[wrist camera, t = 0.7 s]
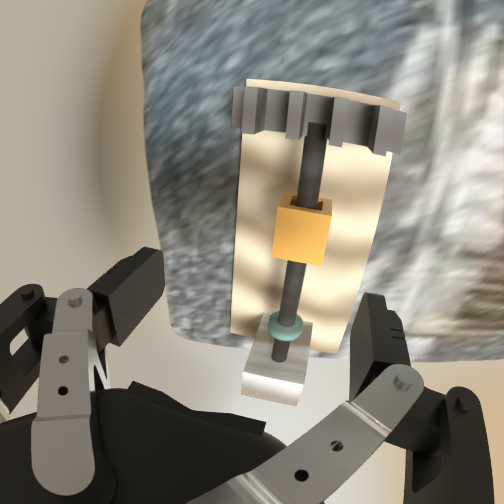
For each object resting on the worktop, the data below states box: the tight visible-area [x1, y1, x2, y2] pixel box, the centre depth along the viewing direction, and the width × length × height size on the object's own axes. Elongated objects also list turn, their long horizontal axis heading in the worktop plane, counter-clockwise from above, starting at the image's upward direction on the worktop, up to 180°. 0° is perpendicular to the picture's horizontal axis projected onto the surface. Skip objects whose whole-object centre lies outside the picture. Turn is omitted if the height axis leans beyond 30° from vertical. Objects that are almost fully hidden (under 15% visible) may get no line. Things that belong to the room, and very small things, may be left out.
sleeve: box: [272, 191, 332, 266], centre depth 24 cm, size 4×4×4 cm
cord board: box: [230, 79, 407, 406], centre depth 27 cm, size 30×14×12 cm, turn 176°
